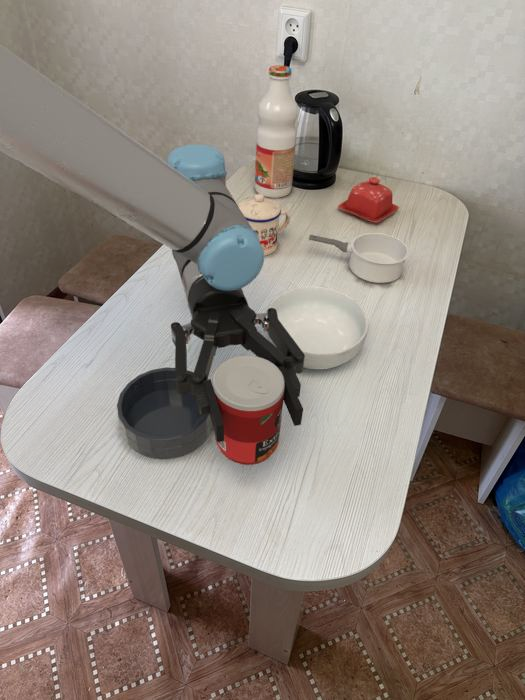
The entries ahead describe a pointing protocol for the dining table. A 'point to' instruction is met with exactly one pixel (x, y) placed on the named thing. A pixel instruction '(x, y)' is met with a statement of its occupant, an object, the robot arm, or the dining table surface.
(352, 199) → the butter dish
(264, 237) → the teacup with lid
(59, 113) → the robot arm
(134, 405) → the dark grey round dish
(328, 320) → the cereal bowl
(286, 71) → the fruit juice
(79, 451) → the dining table surface
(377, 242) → the saucepan
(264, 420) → the canned food
